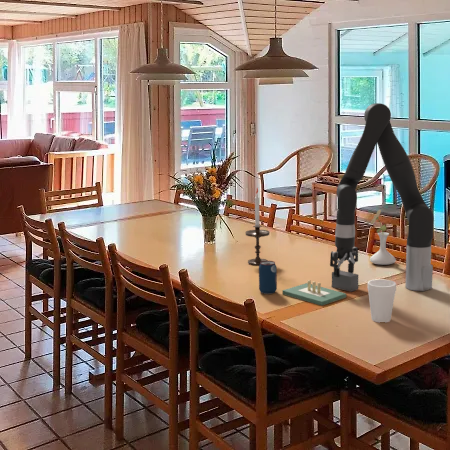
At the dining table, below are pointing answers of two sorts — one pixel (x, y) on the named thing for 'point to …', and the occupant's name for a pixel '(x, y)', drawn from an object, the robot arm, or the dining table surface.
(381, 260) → the flower in vase
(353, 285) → the block
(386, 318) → the foam cup
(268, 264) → the soda can
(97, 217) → the dining table surface
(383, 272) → the dining table surface
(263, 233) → the candlestick
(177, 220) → the dining table surface
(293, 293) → the pin board
